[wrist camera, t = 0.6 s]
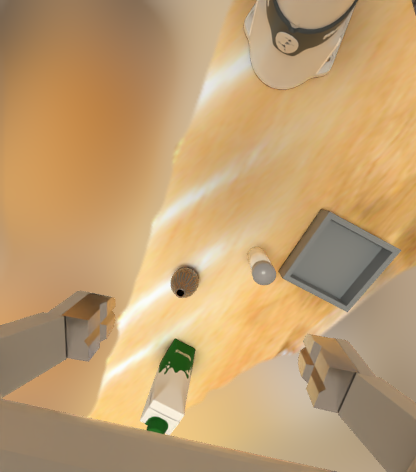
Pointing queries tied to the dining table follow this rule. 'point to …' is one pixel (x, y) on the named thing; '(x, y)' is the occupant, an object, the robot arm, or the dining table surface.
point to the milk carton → (169, 389)
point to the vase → (184, 282)
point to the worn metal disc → (414, 5)
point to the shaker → (261, 266)
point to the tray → (337, 260)
